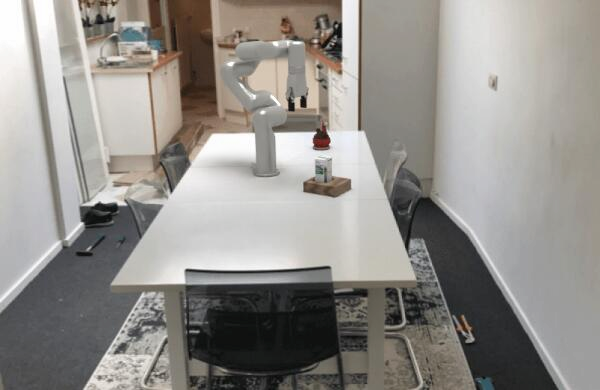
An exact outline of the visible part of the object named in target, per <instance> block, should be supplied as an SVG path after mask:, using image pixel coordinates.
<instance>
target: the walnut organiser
mask: <svg viewBox="0 0 600 390" xmlns="http://www.w3.org/2000/svg"><path fill="white" fill-rule="evenodd" d="M302 184H303V185H302V187H303V188H302V190H303V192H304V193H310V194H314V195H320V196H326V197H331V198H336V197H338V196H340V195H342V194H344V193H346V192H348V191H350V190H351V189H352V179H351V178H346V177H342V176H341V177H340V176H334V175H332V181H330V182H328V183H322V182H315V176H312V177H311V178H308V179H306V180H304V181H302Z"/></svg>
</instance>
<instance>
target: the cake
mask: <svg viewBox="0 0 600 390" xmlns="http://www.w3.org/2000/svg"><path fill="white" fill-rule="evenodd" d="M319 119H320V127H317V128H315V132H316V133H314V135H313V137H312V144H313V145H312V148H313V149H314V150H319V151H323V150H324V151H325V150H328V149H330V148H331V145H330V144H331V143H332V142H331V137H330V135H329V133H328V131H327V130H328V129H327V126H328V125H329V122H328V121H324V122H323V116H322V115H321V116H320V118H319Z"/></svg>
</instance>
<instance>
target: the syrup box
mask: <svg viewBox="0 0 600 390" xmlns="http://www.w3.org/2000/svg"><path fill="white" fill-rule="evenodd" d="M332 176H333V157H332V156H323V155H320V156H317V157H315V158H314V177H315V182H322V183H328V182H330V181H332Z"/></svg>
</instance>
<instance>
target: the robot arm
mask: <svg viewBox="0 0 600 390" xmlns="http://www.w3.org/2000/svg"><path fill="white" fill-rule="evenodd" d="M234 54H235V56H236V59H231V60H227V61H224V62H223V63H222V64H221V65H220V67H219V74H220V79H221V82H222V84H223V85H224V86H225V87H226V88H227V90H229V92H231V94H233V96H234V97H235V98H236V99H237V101H238V102H239V104H240V105H242V107H243V109H245V111H247V112H249V113H253V114H252V117H251V118H252V119H251V120H252V125H253V130H254V140H255V141H254V142H255V162H251V164H250V168H253V169H254V170H253V171H252V174H253V176H256V177H262V178H263V177H264V178H265V177H266V178H267V177H274V176H278V175H279V174H280V169H278V168H277V151H276V150H277V147H276V145H277V144H276V134H275V132H274V131H273V127H278V126H281V125H284V124H285V123H286V121H287V119H288V114H287V111H288V112H292V113H293V112H296V102H295V100H296V98H299V108H301V109H307V107H308V104H307V103H308V95H309V89H310V88H309V87H308V86H307V76H306V68H307V67H306V44H305V42H304V41H300V40H296V41H295V40H293V39H281V40H274V41H264V40H258V41H256V40H255V41H244V42H240V43H238V44H237V45H236V47H235V49H234ZM283 58H284V59H285V58H287V73H288V74H287V78H286V92H285V99H286V102H287V111H286V109H285V107H284V106H283V105H282V104H281V102H280V101H279V100H278V99H277V98H276V96H275V95H274V94H273V93H272V92H271V91H268V90H265V89H262V90H261V89H260V90H254V89H253V88H252V87H251V86H250V84H249V83H248V82H246V81H244V80H243V79H241V78H245V77H246V78H247V77H250V76H252V75H253V74H254V73H255V72H256V69H257V68H258V67H259V65H260V63H261V62H262V61H264V60H276V59H277V60H278V59H283Z"/></svg>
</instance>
